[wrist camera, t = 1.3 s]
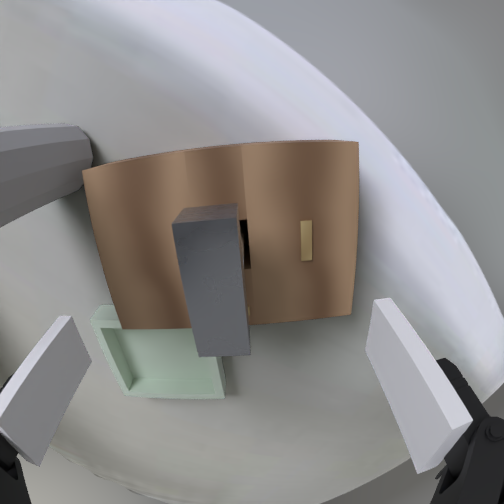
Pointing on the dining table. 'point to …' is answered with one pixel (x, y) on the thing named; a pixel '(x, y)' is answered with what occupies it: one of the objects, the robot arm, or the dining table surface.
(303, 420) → the dining table surface
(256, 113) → the dining table surface
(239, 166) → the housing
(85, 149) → the water bottle
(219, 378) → the tray
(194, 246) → the t key
